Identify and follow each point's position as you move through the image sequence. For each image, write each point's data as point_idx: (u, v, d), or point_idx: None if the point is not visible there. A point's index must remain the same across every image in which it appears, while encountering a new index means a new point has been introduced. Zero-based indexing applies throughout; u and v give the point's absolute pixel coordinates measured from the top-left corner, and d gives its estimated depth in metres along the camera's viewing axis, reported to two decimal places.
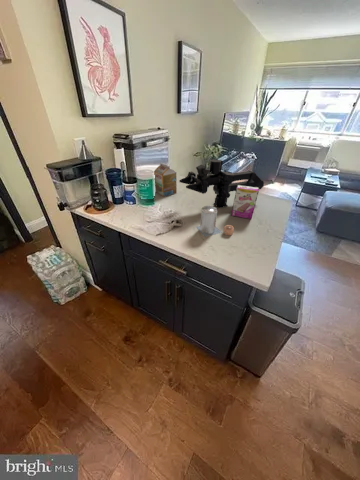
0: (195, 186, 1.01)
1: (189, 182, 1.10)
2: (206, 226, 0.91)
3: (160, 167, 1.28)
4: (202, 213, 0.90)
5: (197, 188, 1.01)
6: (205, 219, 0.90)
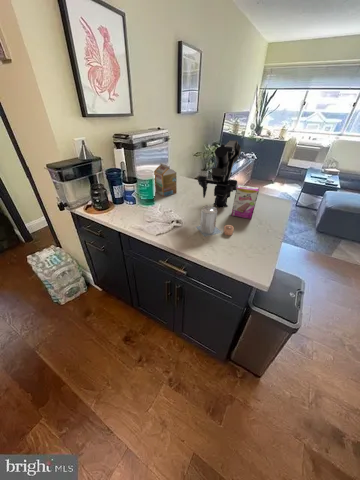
0: (227, 191, 0.94)
1: (206, 187, 0.99)
2: (206, 226, 0.91)
3: (160, 167, 1.28)
4: (202, 213, 0.90)
5: (228, 190, 0.95)
6: (205, 219, 0.90)
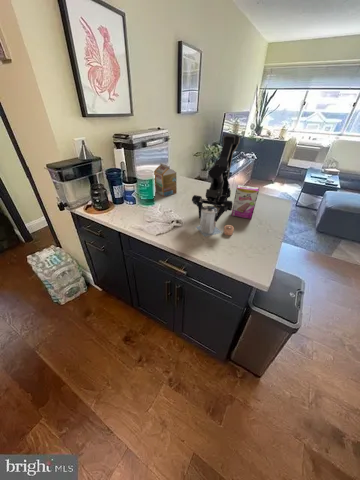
0: (220, 212, 0.91)
1: None
2: (206, 226, 0.91)
3: (160, 167, 1.28)
4: (202, 213, 0.90)
5: (222, 211, 0.92)
6: (205, 219, 0.90)
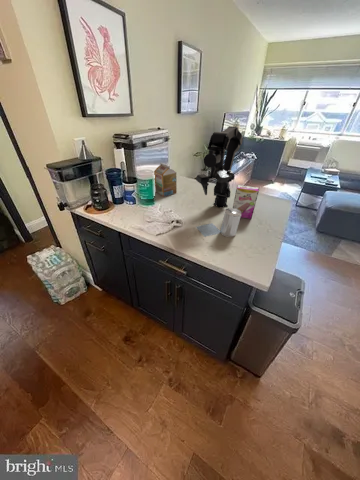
0: None
1: None
2: (231, 229, 0.90)
3: (160, 167, 1.28)
4: (228, 216, 0.87)
5: None
6: (231, 222, 0.88)
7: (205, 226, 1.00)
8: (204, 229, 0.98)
